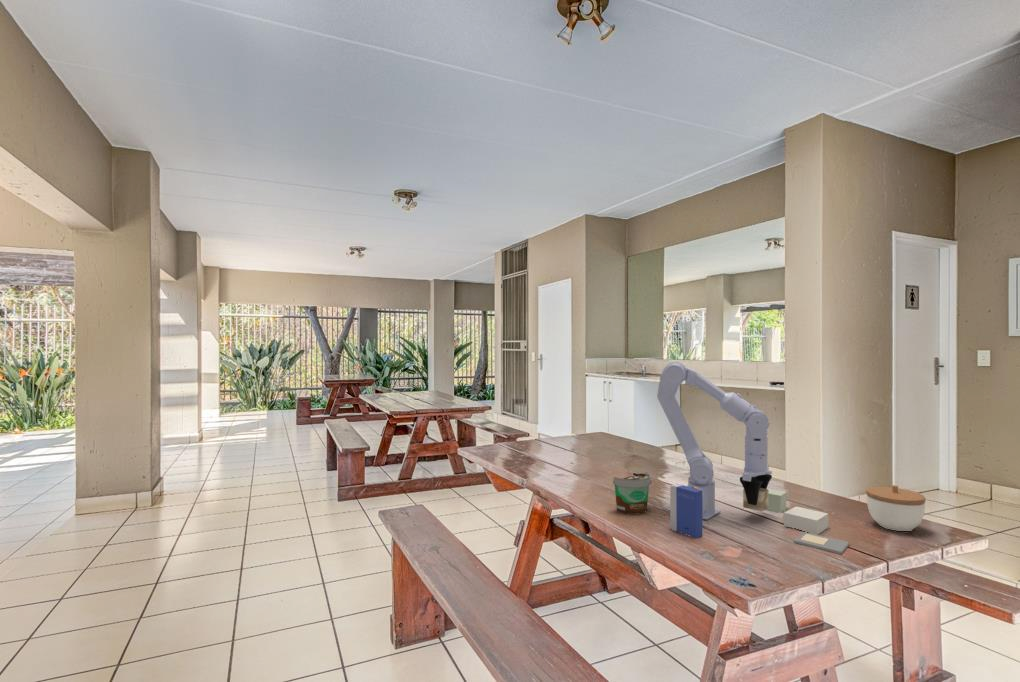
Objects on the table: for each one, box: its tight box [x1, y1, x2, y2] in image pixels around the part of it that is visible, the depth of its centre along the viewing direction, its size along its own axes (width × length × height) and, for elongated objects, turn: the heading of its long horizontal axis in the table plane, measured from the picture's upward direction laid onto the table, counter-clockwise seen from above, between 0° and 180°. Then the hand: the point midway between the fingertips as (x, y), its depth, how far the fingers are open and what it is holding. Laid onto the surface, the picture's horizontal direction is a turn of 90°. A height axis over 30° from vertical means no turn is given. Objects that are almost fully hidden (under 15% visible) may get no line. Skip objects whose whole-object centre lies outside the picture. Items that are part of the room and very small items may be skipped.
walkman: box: [669, 483, 703, 539], centre depth 135 cm, size 8×3×12 cm, turn 35°
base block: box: [783, 506, 829, 535], centre depth 139 cm, size 8×8×4 cm
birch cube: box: [742, 488, 770, 512], centre depth 146 cm, size 5×5×5 cm
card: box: [793, 531, 850, 555], centre depth 127 cm, size 8×10×1 cm
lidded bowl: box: [865, 484, 926, 532], centre depth 138 cm, size 13×13×11 cm
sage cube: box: [764, 488, 787, 513], centre depth 153 cm, size 5×5×5 cm
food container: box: [612, 472, 653, 515], centre depth 152 cm, size 12×6×10 cm, turn 114°
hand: (755, 502), depth 146 cm, fingers closed on birch cube, 5 cm apart
